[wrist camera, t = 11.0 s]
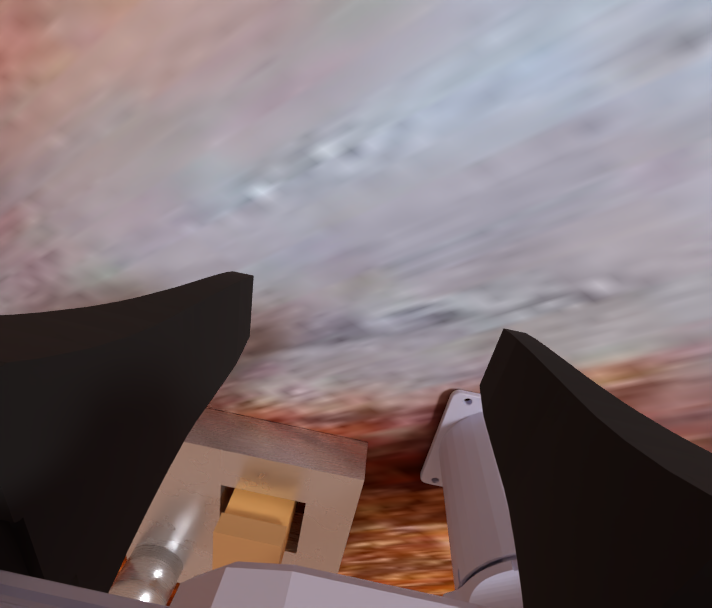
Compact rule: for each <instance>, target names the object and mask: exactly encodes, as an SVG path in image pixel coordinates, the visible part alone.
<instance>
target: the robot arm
mask: <svg viewBox="0 0 712 608" xmlns="http://www.w3.org/2000/svg"><path fill="white" fill-rule="evenodd" d="M252 292H253V276H252V275H248V274H243V273H238V272H233V271H232V272H226V273H221V274H218V275H214V276H211V277H208V278H204V279H201V280H198V281H195V282H191V283H188V284H185V285H182V286H178V287H175V288H171V289H168V290H164V291H160V292H156V293H153V294H149V295H145V296H141V297H137V298H133V299H128V300H124V301H119V302H113V303H108V304H102V305H97V306H90V307H83V308H75V309H66V310H58V311H49V312H41V313H29V314H15V315H0V608H712V453H711V452H709V451H707V450H705V449H703V448H701V447H699V446H697V445H695V444H693V443H691V442H689V441H688V440H686V439H684V438H682V437H680V436H679V435H677V434H675V433H673V432H671V431H670V430H668V429H666V428H664V427H663V426H661V425H659V424H658V423H656V422H654V421H653V420H651V419H649V418H648V417H646V416H644V415H643V414H641V413H639V412H638V411H636V410H635V409H633V408H632V407H630V406H628V405H627V404H625V403H624V402H622V401H621V400H619V399H618V398H616V397H615V396H614V395H612V394H611V393H609V392H608V391H606V390H605V389H603V388H602V387H600V386H599V385H598V384H596V383H595V382H593V381H592V380H591V379H589V378H588V377H586V376H585V375H584V374H582V373H581V372H580V371H578V370H577V369H576V368H574V367H573V366H572V365H570V364H569V363H568V362H566V361H565V360H564V359H562V358H561V357H560V356H558V355H557V354H556V353H554V352H553V351H552V350H550V349H549V348H548V347H546V346H545V345H543V344H542V343H541V342H539V341H538V340H536V339H535V338H533V337H532V336H530V335H528V334H526V333H523V332H518V331H513V330H509V329H503V331H502V334H501V336H500V338H499V341H498V343H497V345H496V348H495V350H494V352H493V355H492V357H491V360H490V362H489V364H488V367H487V369H486V371H485V374H484V376H483V379H482V381H481V383H480V393H481V394H478V393H474V392H469V391H464V390H455V391H453V392H452V393H451V395H450V397H449V400H448V403H447V405H446V408H445V410H444V413H443V416H442V418H441V421H440V423H439V426H438V429H437V431H436V434H435V436H434V439H433V442H432V444H431V447H430V450H429V452H428V455H427V457H426V460H425V463H424V465H423V468H422V470H421V474H420V477H421V480H422V481H423V482H424V483H427V484H432V485H437V486H442V487H443V492H444V500H445V509H446V517H447V525H448V534H449V542H450V550H451V559H452V567H453V576H454V584H455V591H452V592H448V593H445V594H444V595H443V597H441V596H437V595H432V594H427V593H423V592H418V591H413V590H409V589H404V588H400V587H395V586H390V585H386V584H381V583H376V582H372V581H367V580H363V579H358V578H353V577H349V576H344V575H339V574H335V573H330V572H326V571H321V570H316V569H312V568H307V567H302V566H298V565H290V564H274V563H257V562H240V561H237V562H234V563H231V564H228V565H225V566H222V567H220V568H217V569H214V570H211V571H208V572H205V573H203V574H200V575H197V576H195V577H193V578H191V579H188V580H186V581H184V582H182V583H181V584H180V586H179V588H178V590H177V592H176V594H175V596H174V598H173V600H172V602H171V604H170V606H169V607H168V606H164V605H159V604H155V603H150V602H145V601H141V600H136V599H132V598H127V597H122V596H118V595H113V594H109V591H110V588H111V586H112V584H113V582H114V580H115V578H116V575H117V573H118V571H119V569H120V567H121V565H122V562H123V560H124V558H125V556H126V554H127V552H128V550H129V548H130V546H131V543H132V541H133V539H134V537H135V535H136V533H137V531H138V529H139V527H140V525H141V523H142V521H143V519H144V517H145V515H146V513H147V511H148V509H149V507H150V505H151V503H152V501H153V499H154V497H155V495H156V493H157V491H158V489H159V487H160V485H161V483H162V482H163V480H164V478H165V476H166V474H167V472H168V470H169V468H170V466H171V464H172V463H173V461H174V459H175V457H176V455H177V453H178V452H179V450H180V448H181V446H182V444H183V442H184V441H185V439H186V437H187V435H188V434H189V432H190V431H191V429H192V427H193V426H194V424H195V423H196V421H197V420H198V418H199V417H200V416H201V414H202V413H203V411H204V410H205V408H206V407H207V405H208V404H209V403H210V401H211V400H212V398H213V397H214V395H215V394H216V393H217V391H218V390H219V388H220V387H221V385H222V384H223V383H224V381H225V380H226V378H227V377H228V375H229V374H230V372H231V371H232V369H233V368H234V366H235V365H236V363H237V361H238V359H239V357H240V355H241V353H242V352H243V349H244V347H245V345H246V343H247V341H248V339H249V337H250V323H251V307H252ZM467 398H469V399H470V400H469V401H465V399H467Z"/></svg>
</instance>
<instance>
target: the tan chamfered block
mask: <svg viewBox="0 0 712 608" xmlns="http://www.w3.org/2000/svg"><path fill="white" fill-rule="evenodd" d="M296 506H297V501H293V500H289V499H284V498H279V497H275V496H270V495H265V494H261V493H256V492H251V491H247V490H242V489H238V488H235V489H234V492H233V494H232V496H231V499H230V501H229V503H228V505H227V508H226V510H225V512H224V513H223V512H222V513H221V516H220V518H219V520H218V522H217V525H216V527H215V529H214V531H213V563H212V570H214V569H217V568H220V567H222V566H225V565H228V564H231V563H234V562H237V561H240V562H257V563H274V564H281V563H282V559H283V555H284V552H285V548H286V544H287V540H288V536H289V532H290V529H291V525H292V521H293V517H294V513H295V510H296Z"/></svg>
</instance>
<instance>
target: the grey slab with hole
mask: <svg viewBox="0 0 712 608" xmlns="http://www.w3.org/2000/svg"><path fill="white" fill-rule="evenodd" d="M367 446H368V442H364V441H359V440H354V439H350V438H345V437H340V436H336V435H331V434H326V433H321V432H317V431H312V430H307V429H303V428H298V427H293V426H289V425H284V424H279V423H275V422H270V421H265V420H261V419H256V418H251V417H247V416H242V415H237V414H232V413H228V412H223V411H218V410H214V409H209V408H205V410H204V411H203V413H202V414H201V416H200V417H199V418H198V420H197V421H196V423H195V424H194V426H193V427H192V429H191V431H190V432H189V434H188V435H187V437H186V439H185V441H184V442H183V444H182V446H181V448H180V450H179V452H178V453H177V455H176V457H175V459H174V461H173V463H172V464H171V466H170V468H169V470H168V472H167V474H166V476H165V478H164V480H163V482H162V483H161V485H160V487H159V489H158V491H157V493H156V495H155V497H154V499H153V501H152V503H151V505H150V507H149V509H148V511H147V513H146V515H145V517H144V519H143V521H142V523H141V525H140V527H139V529H138V531H137V533H136V535H135V537H134V539H133V541H132V543H131V546H130V548H129V550H128V552H127V554H126V556H127V561H126V563H125V565H124V566H123V568H122V570H121V571H120V573H119V575H118V576H117V578H116V579H115V581H114V583H113V584H112V586H111V588H110V591H109V594H113V595H118V596H122V597H127V598H132V599H136V600H141V601H145V602H150V603H155V604H159V605H164V606H166V604H167V602H168V600H169V598H170V596H171V594H172V591H173V589H174V587H175V585H176V583H177V582H178V583H182V582H184V581H186V580H188V579H191V578H193V577H195V576H197V575H200V574H203V573H205V572H208V571H211V570H212V563H213V531H214V529H215V527H216V525H217V522H218V520H219V518H220V516H221V513H222V512H223V513H224V512H225V510H226V508H227V505H228V503H229V501H230V499H231V496H232V494H233V492H234V489H235V488H238V489H242V490H247V491H251V492H256V493H261V494H265V495H270V496H275V497H279V498H284V499H289V500H293V501H298V502H303V503H306V505H305V511H304V514H303V513H298V512H295V513H294V517H293V521H292V525H291V529H290V532H289V536H288V540H287V544H286V548H285V552H284V555H283V559H282V563H281V564H290V565H298V566H302V567H307V568H312V569H316V570H321V571H326V572H330V573H335V574H338V570H339V567H340V563H341V560H342V556H343V553H344V549H345V546H346V542H347V539H348V535H349V532H350V528H351V525H352V522H353V518H354V515H355V511H356V508H357V504H358V501H359V497H360V494H361V490H362V487H363V483H364V478H365V467H366V457H367Z"/></svg>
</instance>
